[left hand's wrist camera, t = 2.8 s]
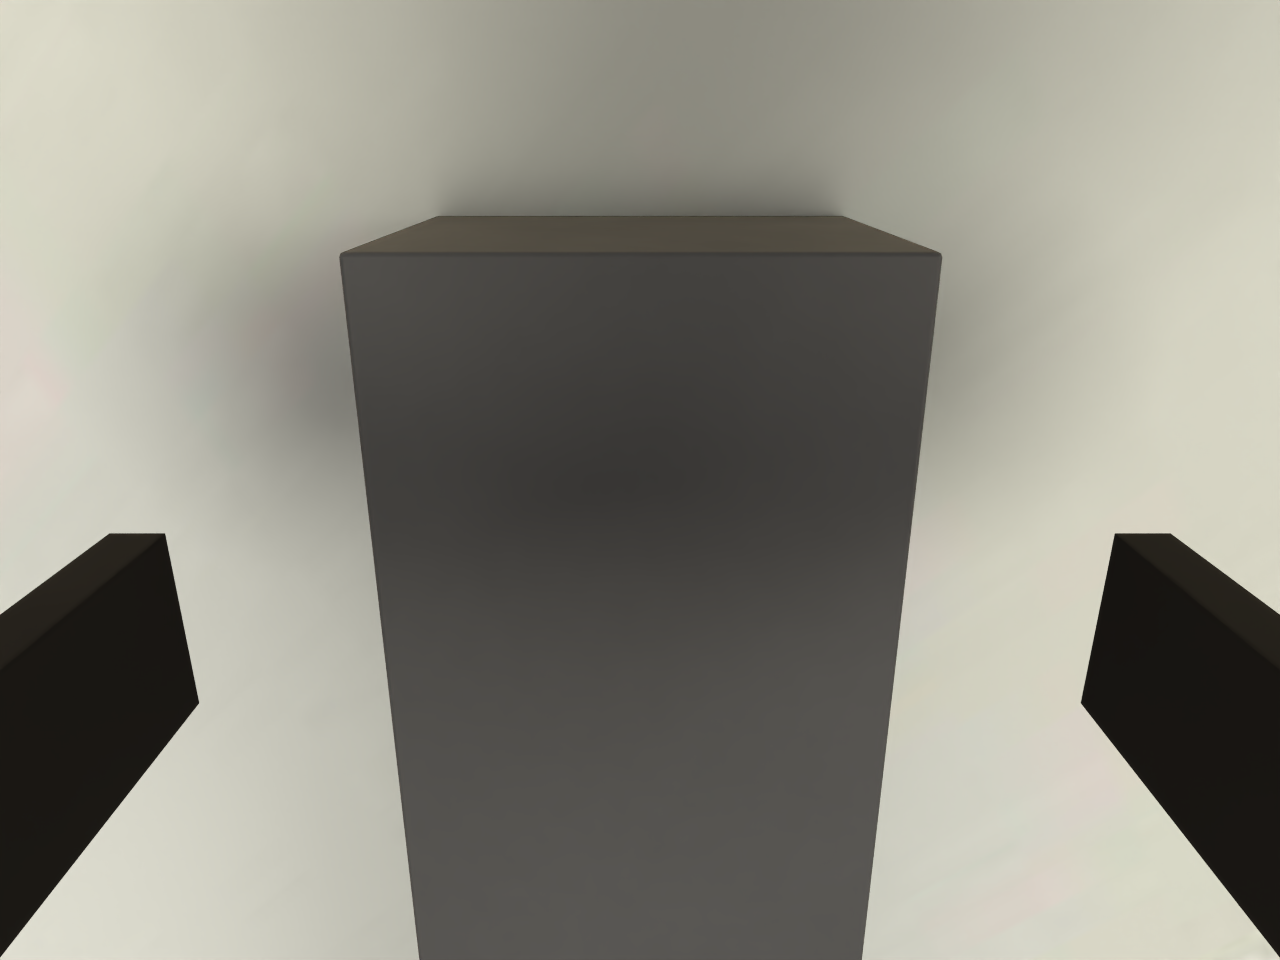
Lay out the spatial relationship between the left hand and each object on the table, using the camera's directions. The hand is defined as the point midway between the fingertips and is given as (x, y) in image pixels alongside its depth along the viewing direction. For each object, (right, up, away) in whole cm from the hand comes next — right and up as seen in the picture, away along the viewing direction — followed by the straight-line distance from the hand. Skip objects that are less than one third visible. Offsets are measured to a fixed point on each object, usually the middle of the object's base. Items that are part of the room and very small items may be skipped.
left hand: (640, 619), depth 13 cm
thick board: (0, -24, +21) cm, 32 cm away
